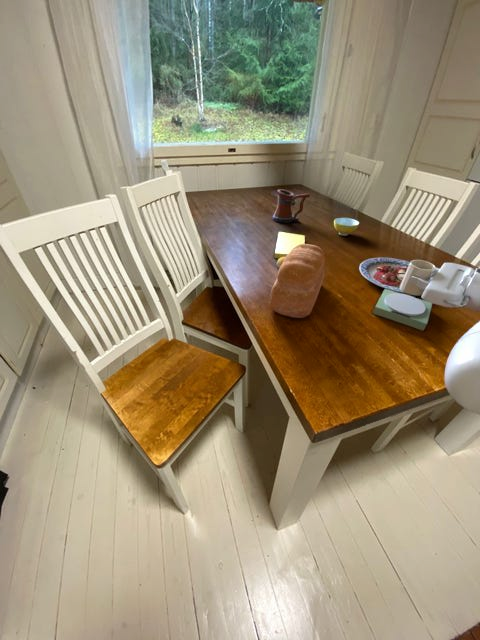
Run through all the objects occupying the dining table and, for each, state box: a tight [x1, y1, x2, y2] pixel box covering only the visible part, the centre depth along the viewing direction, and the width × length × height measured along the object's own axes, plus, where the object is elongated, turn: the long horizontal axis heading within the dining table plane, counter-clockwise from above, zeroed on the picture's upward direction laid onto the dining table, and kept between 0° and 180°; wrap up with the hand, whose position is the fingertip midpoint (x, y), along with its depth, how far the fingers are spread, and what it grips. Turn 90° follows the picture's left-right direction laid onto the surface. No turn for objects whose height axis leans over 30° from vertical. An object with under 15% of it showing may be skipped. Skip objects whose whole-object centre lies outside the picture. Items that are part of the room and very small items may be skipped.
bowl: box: [333, 217, 360, 237], centre depth 132 cm, size 11×12×6 cm
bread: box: [269, 243, 326, 319], centre depth 86 cm, size 14×26×15 cm, turn 156°
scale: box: [372, 288, 433, 331], centre depth 84 cm, size 14×13×3 cm
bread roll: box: [276, 257, 285, 269], centre depth 106 cm, size 8×9×4 cm
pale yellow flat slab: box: [274, 231, 306, 259], centre depth 121 cm, size 12×2×24 cm
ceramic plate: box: [358, 257, 434, 294], centre depth 100 cm, size 26×26×3 cm
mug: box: [272, 188, 311, 224], centre depth 145 cm, size 18×12×15 cm, turn 76°
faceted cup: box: [400, 259, 437, 296], centre depth 77 cm, size 6×6×8 cm
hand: (415, 273), depth 77 cm, fingers closed on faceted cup, 6 cm apart
